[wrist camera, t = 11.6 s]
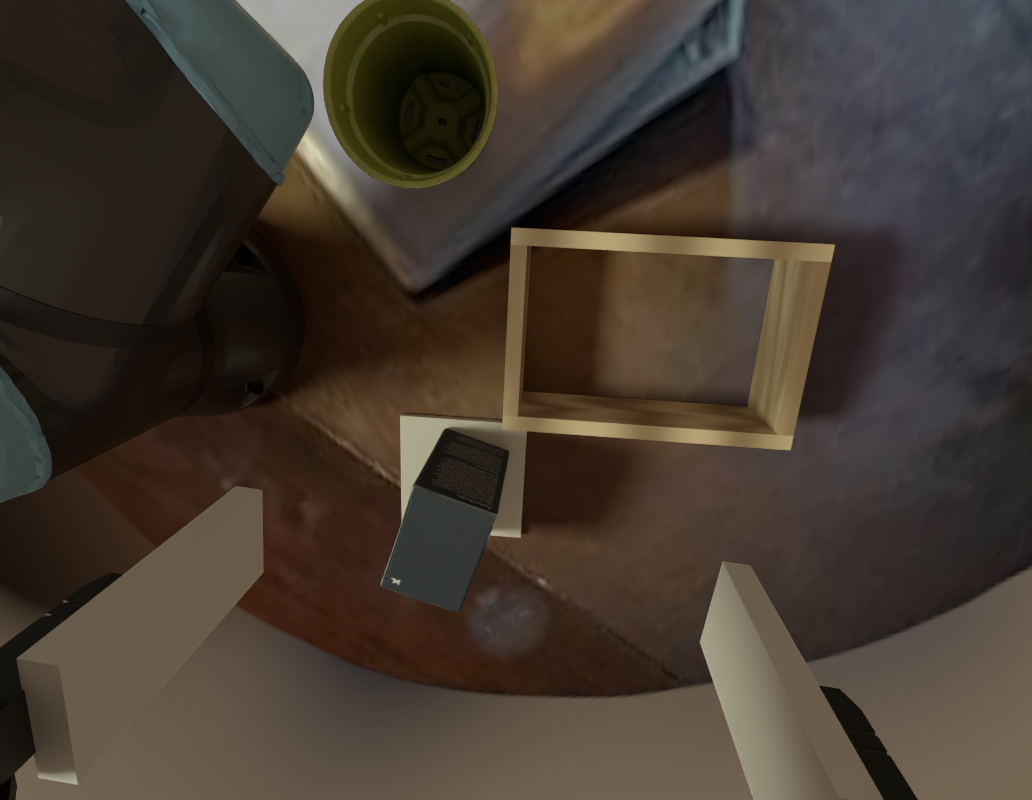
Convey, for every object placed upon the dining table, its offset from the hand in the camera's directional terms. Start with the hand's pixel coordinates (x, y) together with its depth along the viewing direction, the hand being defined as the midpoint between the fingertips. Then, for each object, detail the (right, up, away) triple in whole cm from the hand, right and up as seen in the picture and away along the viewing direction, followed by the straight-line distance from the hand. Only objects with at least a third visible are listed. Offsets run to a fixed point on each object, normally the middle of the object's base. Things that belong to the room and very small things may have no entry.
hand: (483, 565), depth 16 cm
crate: (+10, +10, +25) cm, 28 cm away
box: (-3, -2, +29) cm, 29 cm away
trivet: (-3, -1, +29) cm, 29 cm away
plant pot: (-4, +24, +22) cm, 32 cm away
